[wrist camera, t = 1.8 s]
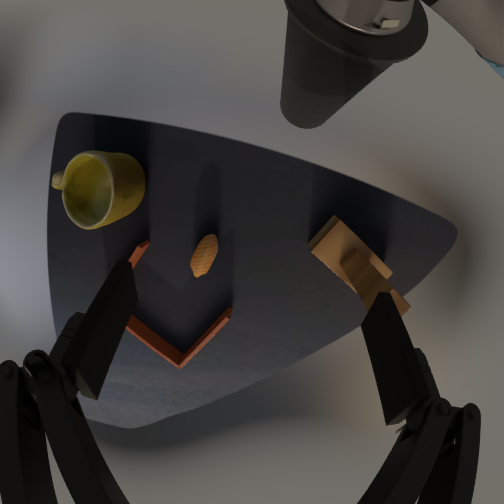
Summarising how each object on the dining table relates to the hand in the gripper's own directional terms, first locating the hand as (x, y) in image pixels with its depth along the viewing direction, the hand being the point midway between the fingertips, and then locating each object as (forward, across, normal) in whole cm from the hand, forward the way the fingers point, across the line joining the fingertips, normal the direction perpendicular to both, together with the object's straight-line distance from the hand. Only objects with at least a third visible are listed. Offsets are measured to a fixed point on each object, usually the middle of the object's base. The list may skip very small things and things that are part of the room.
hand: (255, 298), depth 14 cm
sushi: (+20, -5, -12) cm, 24 cm away
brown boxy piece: (+19, +13, -8) cm, 25 cm away
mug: (+23, -20, -4) cm, 31 cm away
